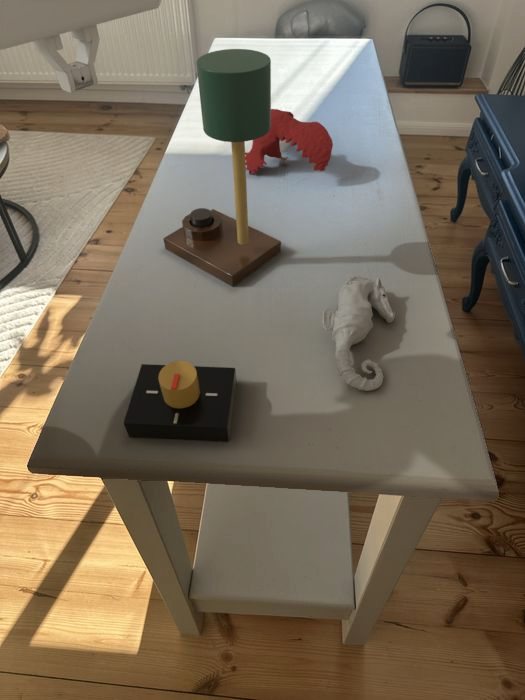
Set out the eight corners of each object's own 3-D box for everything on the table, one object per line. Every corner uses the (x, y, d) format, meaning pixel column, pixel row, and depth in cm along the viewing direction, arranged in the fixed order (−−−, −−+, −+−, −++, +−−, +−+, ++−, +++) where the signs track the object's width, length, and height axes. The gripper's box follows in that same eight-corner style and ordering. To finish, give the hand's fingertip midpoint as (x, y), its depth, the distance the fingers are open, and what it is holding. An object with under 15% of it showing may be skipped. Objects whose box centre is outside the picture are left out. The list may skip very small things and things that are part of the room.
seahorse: (421, 388, 60) (395, 271, 71) (338, 373, 57) (324, 253, 68) (398, 406, 64) (377, 293, 75) (319, 393, 61) (310, 276, 72)
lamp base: (165, 248, 83) (161, 228, 80) (214, 219, 89) (212, 199, 86) (232, 287, 76) (231, 266, 73) (281, 252, 82) (281, 231, 79)
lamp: (203, 243, 77) (180, 62, 58) (241, 219, 82) (231, 44, 63) (245, 265, 73) (235, 78, 54) (282, 239, 78) (285, 58, 58)
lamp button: (187, 223, 82) (185, 214, 81) (202, 214, 84) (201, 205, 82) (201, 231, 80) (200, 222, 79) (217, 222, 82) (216, 212, 81)
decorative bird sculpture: (312, 210, 99) (351, 142, 95) (289, 194, 91) (331, 119, 87) (226, 163, 113) (257, 102, 110) (199, 146, 106) (232, 80, 102)
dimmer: (128, 437, 57) (122, 422, 55) (146, 378, 63) (141, 363, 61) (228, 442, 57) (227, 427, 54) (236, 382, 63) (235, 366, 60)
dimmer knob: (167, 378, 59) (162, 358, 57) (202, 380, 59) (199, 359, 56) (159, 407, 56) (153, 387, 54) (196, 409, 56) (192, 389, 53)
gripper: (-114, -112, 27) (-9, 134, 37) (160, -132, 38) (184, 65, 48) (-155, -115, 30) (-47, 114, 40) (110, -133, 41) (143, 53, 51)
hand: (80, 87), depth 44 cm, fingers closed
